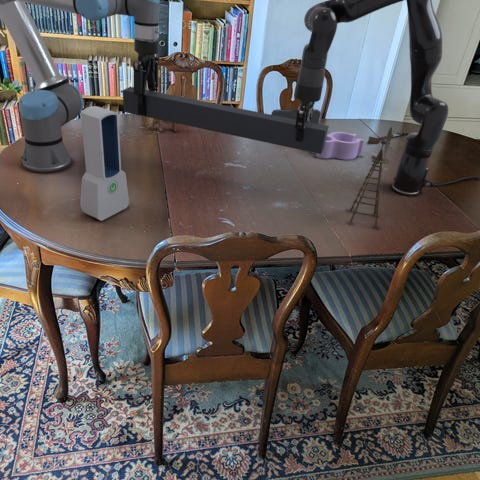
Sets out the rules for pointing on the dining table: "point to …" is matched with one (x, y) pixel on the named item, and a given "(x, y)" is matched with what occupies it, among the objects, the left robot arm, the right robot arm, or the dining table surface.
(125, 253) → the dining table surface
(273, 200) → the dining table surface
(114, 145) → the electronic device
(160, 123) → the lion figurine
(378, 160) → the miniature windmill
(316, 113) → the handheld gaming console
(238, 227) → the dining table surface
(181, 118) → the bar
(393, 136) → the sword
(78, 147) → the dining table surface
